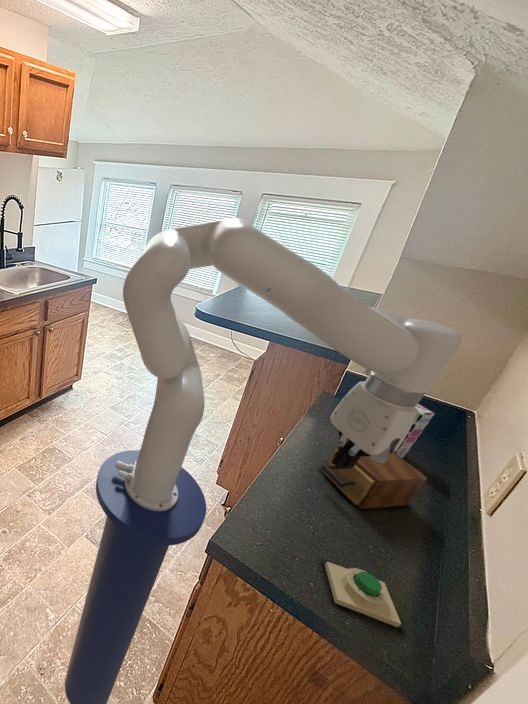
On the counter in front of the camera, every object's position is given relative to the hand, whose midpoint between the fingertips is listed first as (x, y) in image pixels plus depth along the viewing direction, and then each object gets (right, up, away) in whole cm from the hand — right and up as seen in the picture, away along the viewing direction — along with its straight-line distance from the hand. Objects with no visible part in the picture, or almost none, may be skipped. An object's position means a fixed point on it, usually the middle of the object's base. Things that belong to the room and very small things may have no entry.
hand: (340, 465), depth 74 cm
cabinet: (+24, -13, +24) cm, 36 cm away
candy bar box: (+42, -7, +40) cm, 58 cm away
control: (+2, -24, -1) cm, 25 cm away
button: (+3, -22, -3) cm, 22 cm away
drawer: (+20, -13, +22) cm, 32 cm away
